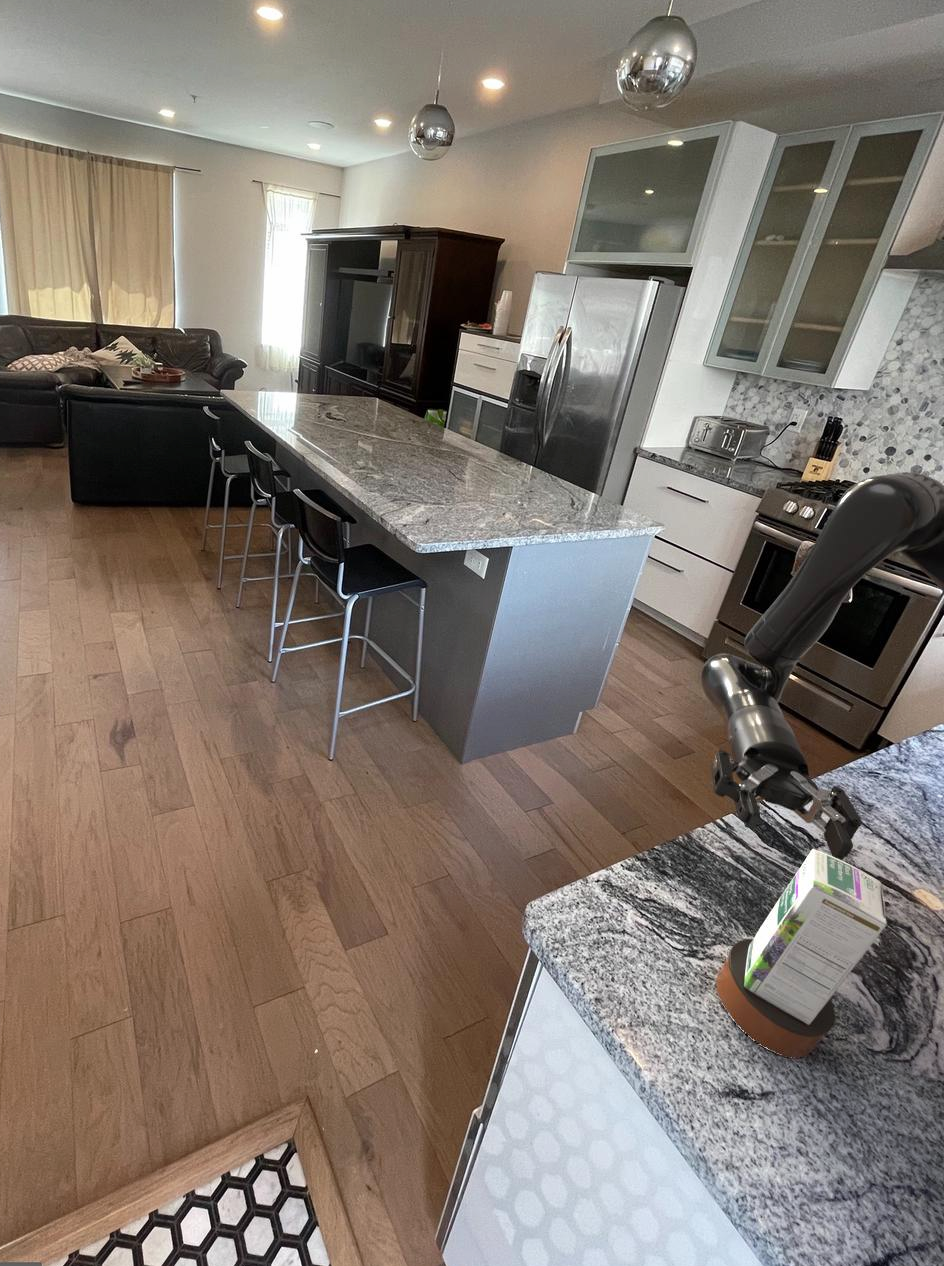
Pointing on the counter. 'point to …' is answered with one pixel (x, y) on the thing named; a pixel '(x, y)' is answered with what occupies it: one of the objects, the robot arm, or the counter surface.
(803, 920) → the syrup box
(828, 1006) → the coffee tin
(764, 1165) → the counter surface
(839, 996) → the counter surface
